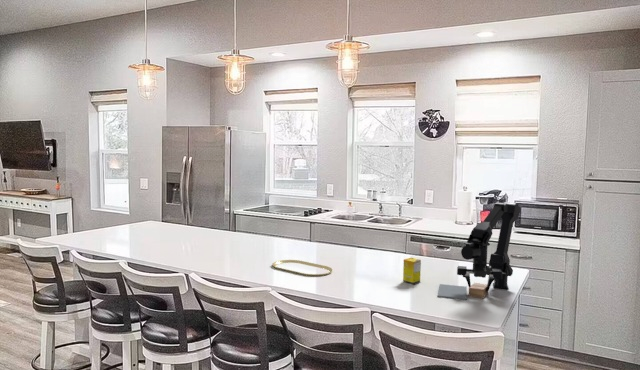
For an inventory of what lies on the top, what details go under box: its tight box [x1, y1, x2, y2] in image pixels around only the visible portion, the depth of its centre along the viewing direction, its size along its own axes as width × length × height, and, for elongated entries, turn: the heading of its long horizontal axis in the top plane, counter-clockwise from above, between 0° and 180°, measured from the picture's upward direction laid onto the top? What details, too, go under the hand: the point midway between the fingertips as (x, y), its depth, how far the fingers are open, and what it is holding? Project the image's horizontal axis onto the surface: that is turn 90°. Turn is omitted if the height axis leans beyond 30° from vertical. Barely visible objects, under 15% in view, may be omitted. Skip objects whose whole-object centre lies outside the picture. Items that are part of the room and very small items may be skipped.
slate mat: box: [437, 283, 468, 301], centre depth 209 cm, size 18×12×1 cm, turn 163°
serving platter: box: [272, 259, 333, 277], centre depth 246 cm, size 19×35×2 cm, turn 52°
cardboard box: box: [468, 282, 488, 299], centre depth 207 cm, size 10×6×4 cm, turn 148°
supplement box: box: [402, 257, 422, 285], centre depth 224 cm, size 6×6×11 cm
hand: (478, 291), depth 207 cm, fingers closed on cardboard box, 7 cm apart
